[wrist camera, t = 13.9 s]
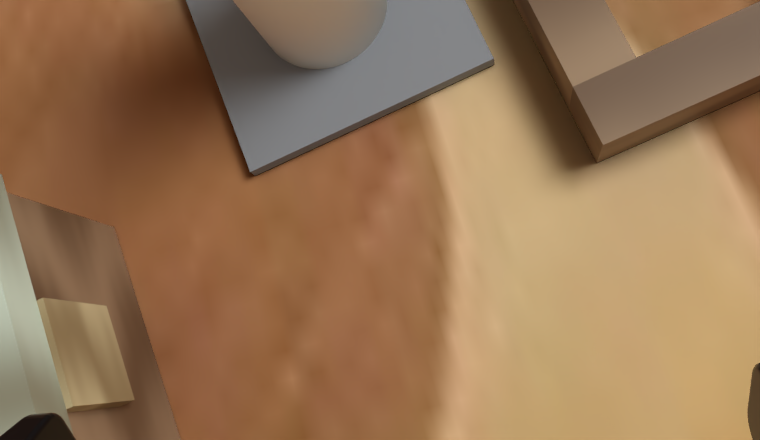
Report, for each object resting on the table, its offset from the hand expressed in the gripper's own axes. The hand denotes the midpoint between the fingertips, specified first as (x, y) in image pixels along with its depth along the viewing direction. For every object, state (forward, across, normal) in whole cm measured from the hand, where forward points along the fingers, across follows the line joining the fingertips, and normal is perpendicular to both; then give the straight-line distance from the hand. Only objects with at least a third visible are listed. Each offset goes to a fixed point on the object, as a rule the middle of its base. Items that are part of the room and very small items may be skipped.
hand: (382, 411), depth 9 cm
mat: (+19, +4, 0) cm, 19 cm away
